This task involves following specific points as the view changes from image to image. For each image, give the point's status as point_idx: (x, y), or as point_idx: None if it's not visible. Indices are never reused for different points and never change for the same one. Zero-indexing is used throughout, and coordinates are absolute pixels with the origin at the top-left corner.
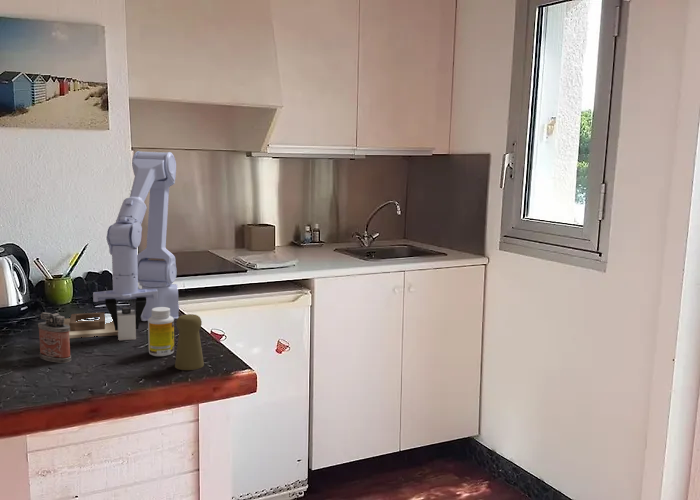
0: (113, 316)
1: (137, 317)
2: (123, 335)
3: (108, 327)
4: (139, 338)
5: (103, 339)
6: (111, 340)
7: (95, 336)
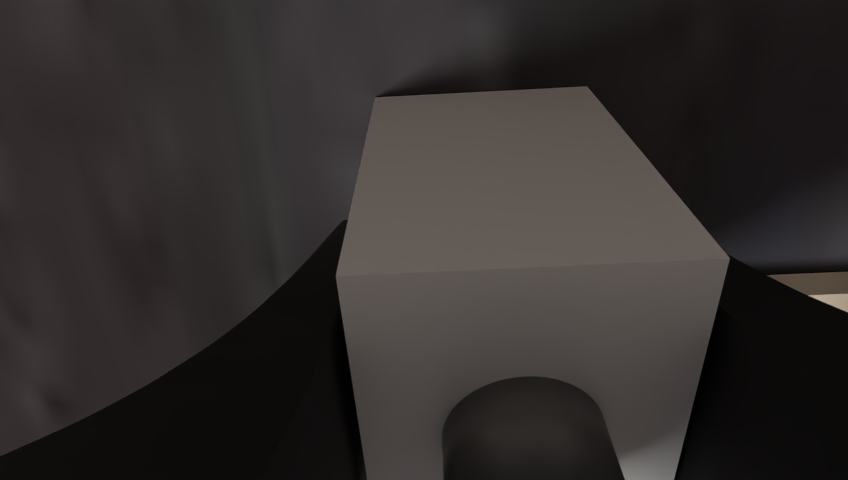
0: (784, 303)
1: (315, 298)
2: (533, 106)
3: None
4: (335, 126)
5: (743, 165)
6: (664, 107)
7: (799, 275)
